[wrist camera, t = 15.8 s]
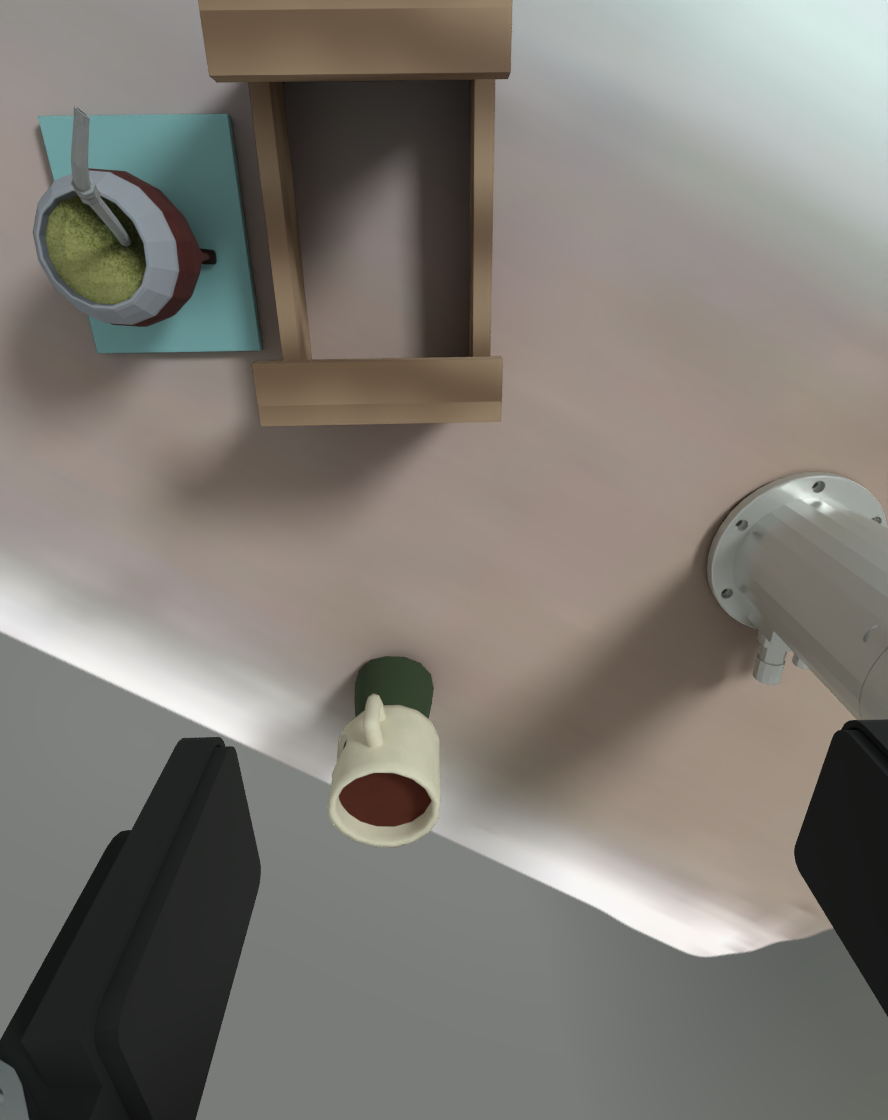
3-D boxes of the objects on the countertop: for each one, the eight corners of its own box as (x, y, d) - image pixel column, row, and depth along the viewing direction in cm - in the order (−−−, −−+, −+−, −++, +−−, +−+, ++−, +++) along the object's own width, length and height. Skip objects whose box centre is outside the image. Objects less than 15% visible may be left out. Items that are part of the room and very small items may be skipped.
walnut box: (484, 385, 39) (501, 421, 30) (299, 389, 39) (260, 426, 30) (489, 54, 32) (513, -28, 23) (260, 57, 32) (194, -25, 23)
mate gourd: (110, 314, 36) (-77, 343, 23) (85, 158, 33) (-152, 86, 20) (236, 322, 37) (124, 356, 23) (224, 169, 33) (85, 105, 20)
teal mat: (262, 349, 38) (260, 350, 38) (102, 352, 38) (97, 353, 37) (230, 116, 33) (227, 113, 32) (44, 118, 33) (37, 116, 32)
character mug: (336, 632, 47) (306, 752, 36) (426, 619, 47) (425, 736, 35) (366, 738, 52) (347, 874, 40) (448, 726, 52) (453, 861, 40)
